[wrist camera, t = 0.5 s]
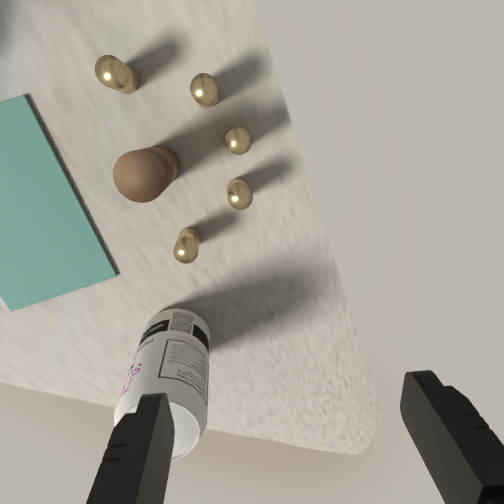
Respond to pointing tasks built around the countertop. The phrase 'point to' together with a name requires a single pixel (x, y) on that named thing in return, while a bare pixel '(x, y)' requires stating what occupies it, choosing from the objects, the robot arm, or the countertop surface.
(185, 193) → the countertop surface
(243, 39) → the countertop surface
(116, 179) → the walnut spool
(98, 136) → the countertop surface
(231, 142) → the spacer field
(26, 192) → the teal mat
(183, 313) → the supplement can
